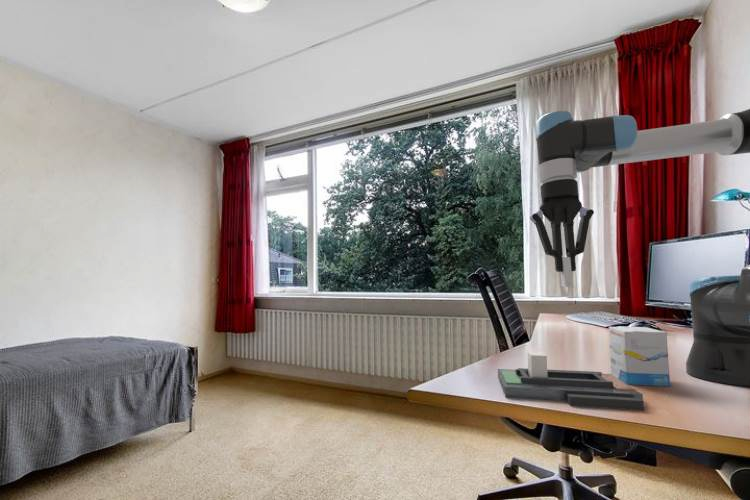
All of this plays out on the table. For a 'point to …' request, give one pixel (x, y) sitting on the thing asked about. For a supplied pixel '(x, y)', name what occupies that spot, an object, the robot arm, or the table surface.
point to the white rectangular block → (537, 364)
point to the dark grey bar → (605, 401)
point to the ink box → (639, 355)
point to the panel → (562, 385)
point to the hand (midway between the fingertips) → (567, 286)
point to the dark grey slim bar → (568, 371)
